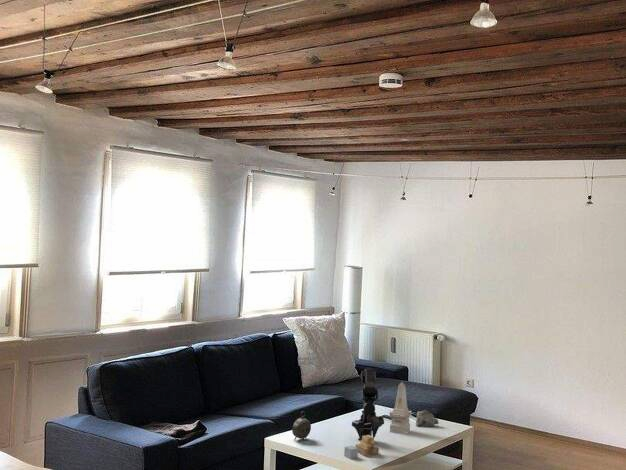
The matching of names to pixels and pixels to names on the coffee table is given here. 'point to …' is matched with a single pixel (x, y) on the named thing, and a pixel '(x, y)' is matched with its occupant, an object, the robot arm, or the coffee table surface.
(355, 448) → the grey cube
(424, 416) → the mineral rock
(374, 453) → the walnut block
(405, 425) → the miniature monument
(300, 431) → the alarm clock
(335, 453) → the coffee table surface
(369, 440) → the oak cube
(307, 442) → the coffee table surface
